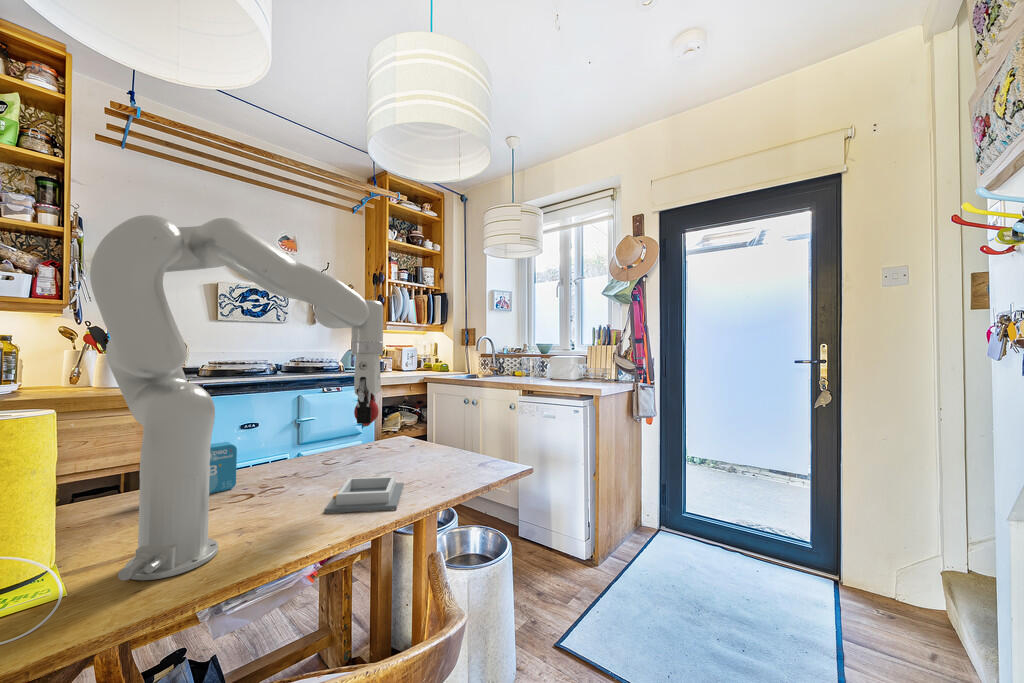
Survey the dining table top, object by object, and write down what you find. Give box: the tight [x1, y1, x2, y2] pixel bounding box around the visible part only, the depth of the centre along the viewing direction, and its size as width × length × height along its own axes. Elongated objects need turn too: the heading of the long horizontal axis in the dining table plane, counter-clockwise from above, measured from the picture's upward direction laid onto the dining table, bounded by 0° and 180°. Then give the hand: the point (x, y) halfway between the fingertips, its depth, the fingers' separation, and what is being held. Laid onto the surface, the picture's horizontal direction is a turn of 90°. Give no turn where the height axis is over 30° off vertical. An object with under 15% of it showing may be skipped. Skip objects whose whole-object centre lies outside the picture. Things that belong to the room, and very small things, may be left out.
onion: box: [353, 397, 380, 427], centre depth 101 cm, size 6×6×8 cm
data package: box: [209, 441, 238, 495], centre depth 104 cm, size 12×4×12 cm, turn 138°
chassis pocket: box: [324, 475, 405, 514], centre depth 101 cm, size 16×16×4 cm
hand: (366, 420), depth 101 cm, fingers closed on onion, 5 cm apart
